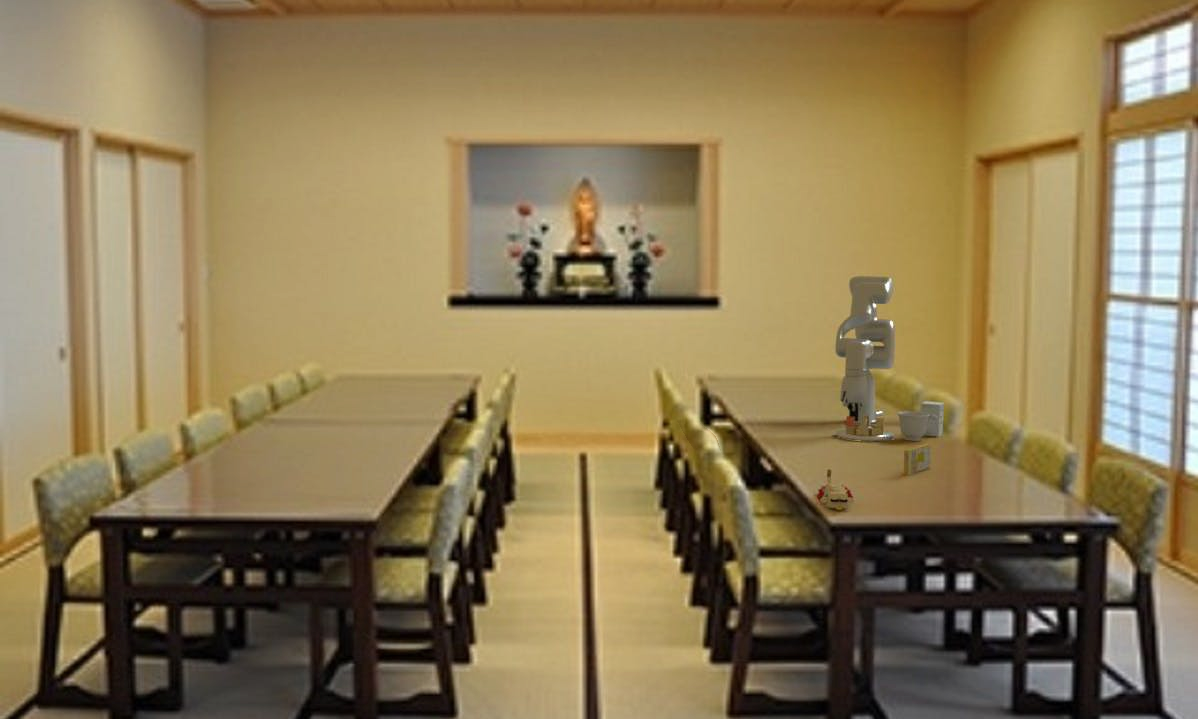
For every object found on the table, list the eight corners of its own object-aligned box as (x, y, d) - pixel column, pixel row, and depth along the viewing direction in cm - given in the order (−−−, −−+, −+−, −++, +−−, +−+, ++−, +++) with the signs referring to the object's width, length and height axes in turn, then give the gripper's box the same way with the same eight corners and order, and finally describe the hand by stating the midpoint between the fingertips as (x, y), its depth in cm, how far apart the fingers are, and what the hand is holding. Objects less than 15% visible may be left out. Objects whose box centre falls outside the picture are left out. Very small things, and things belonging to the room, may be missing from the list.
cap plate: (865, 430, 490) (866, 420, 490) (906, 439, 471) (907, 428, 471) (823, 435, 478) (823, 424, 478) (863, 443, 460) (864, 432, 459)
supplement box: (919, 435, 481) (920, 403, 479) (923, 432, 487) (925, 400, 486) (938, 437, 477) (940, 404, 476) (943, 434, 484) (944, 402, 482)
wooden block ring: (848, 428, 484) (849, 413, 483) (885, 431, 479) (886, 415, 478) (843, 434, 470) (844, 418, 470) (881, 436, 466) (882, 420, 465)
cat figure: (811, 498, 369) (821, 509, 345) (811, 468, 369) (822, 477, 344) (844, 498, 369) (857, 510, 344) (845, 469, 369) (858, 478, 344)
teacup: (938, 443, 462) (939, 416, 461) (896, 441, 465) (897, 415, 464) (936, 438, 474) (937, 412, 473) (895, 436, 477) (896, 410, 476)
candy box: (924, 468, 413) (925, 443, 412) (930, 468, 412) (931, 444, 411) (902, 474, 401) (903, 449, 400) (908, 475, 399) (909, 450, 399)
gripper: (863, 371, 483) (861, 418, 485) (833, 373, 476) (832, 420, 478) (876, 373, 477) (874, 420, 479) (847, 375, 469) (845, 423, 471)
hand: (853, 420), depth 478 cm, fingers closed
